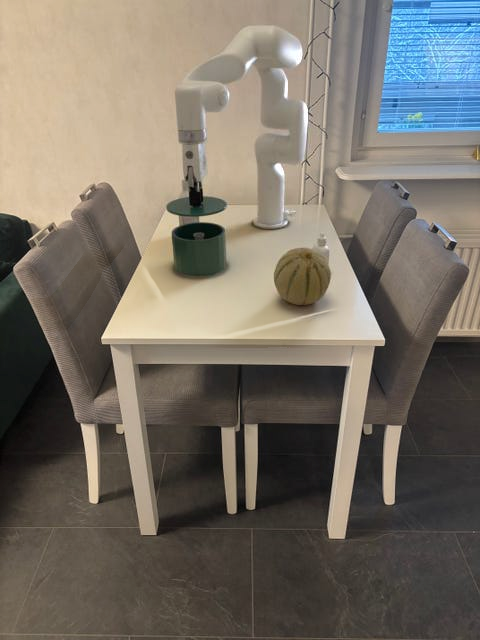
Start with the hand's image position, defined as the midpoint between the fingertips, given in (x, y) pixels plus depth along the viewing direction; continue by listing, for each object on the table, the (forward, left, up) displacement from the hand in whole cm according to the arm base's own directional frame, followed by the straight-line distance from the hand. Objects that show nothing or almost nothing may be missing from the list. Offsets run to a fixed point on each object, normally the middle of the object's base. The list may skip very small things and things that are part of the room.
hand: (196, 203), depth 142 cm
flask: (0, 0, -20) cm, 20 cm away
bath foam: (-5, -26, -20) cm, 33 cm away
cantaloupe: (-17, +32, -20) cm, 41 cm away
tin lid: (0, 0, -1) cm, 1 cm away
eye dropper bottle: (-31, +18, -20) cm, 41 cm away
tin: (0, 0, -20) cm, 20 cm away
